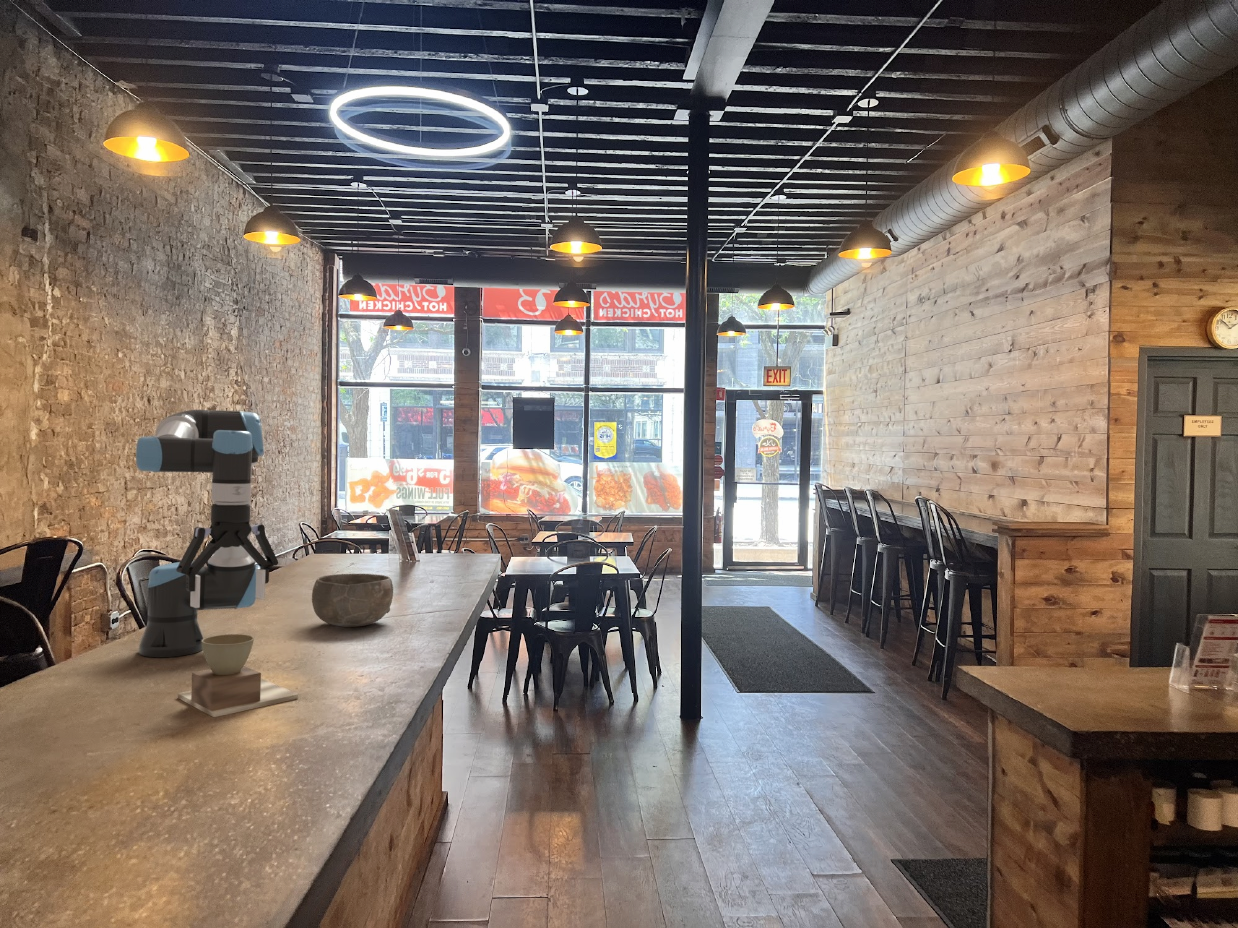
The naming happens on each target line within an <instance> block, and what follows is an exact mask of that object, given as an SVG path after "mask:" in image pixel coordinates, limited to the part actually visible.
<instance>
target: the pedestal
mask: <svg viewBox="0 0 1238 928" xmlns="http://www.w3.org/2000/svg"><path fill="white" fill-rule="evenodd" d="M261 678H262V672H259V671H258V670H255V669H252V668H250V667H248V666H247V665H246V666H245V665H244V666H243V668H242V669H241V671H240V672H239V673H236V674H232V675H216V674H214V673H213V672H212V670H211V669H210V668H208V669H203V670H197V671H193V672H191V691H192V692H191V701H193V702H195V703H197V704H199V705H201V706H203V707H205V708H206V709H208V710H210V711H216V710H220V709H225V708H230V707H234V706H239V705H244V704H248V703H253V702H257V701H260V690H261Z"/></svg>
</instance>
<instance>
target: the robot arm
mask: <svg viewBox="0 0 1238 928" xmlns="http://www.w3.org/2000/svg"><path fill="white" fill-rule="evenodd" d="M262 430H263V429H262V422H261V418H260V416H259V414H258V413H256V412H252V411H251V412H250V411H243V410H220V409H219V410H215V409H213V410H211V409H199V408H198V409H189V410H182V411H179V412H176V413H173V414H170V415H168V416H167V417H165V418H163V419H162V420H161V421H159V423H158V424H157V426H156V429H155V433H154V435H151V436H141V437H139V438H138V439H137V443H136V448H135V449H136V450H135V451H136V452H135V458H136V459H135V463H136V468H137V469H138V470H139V471H141V472H152V473H206V474H207V473H208V474H211V473H212V479H211V496H210V498H211V499H210V500H211V502H214V503H213V504H212V505H210V526H209V528H208V527H200V526H195V528H194V530H193V537H192V539H191V541H190V542H189V545H188V546H187V548H186V550H185V552H184V554H183V556H182V558H181V560H180V561H177V562H173V563H172V562H171V563H167V564H162V565H159V566H156V567H154V568H151V570H150V572H149V575H148V584H147V588H148V597H147V598H148V600H147V601H148V602H147V603H148V604H147V624H146V626H145V629H144V631H143V634H142V637H141V639H140V642H139V646H138V654H139V655H141V656H144V657H148V658H172V657H180V656H181V657H182V656H187V655H192V654H195V653H198V652H202V651H203V648H202V640H203V639H204V638H205V637H204V635H203V632H202V630H201V627H200V623H199V621H198V611H209V610H211V611H212V610H231V609H234V610H237V609H243V608H250V607H252V606H253V605H254V604H255V603H256V599H257V600H261V601H265V598H266V584H269V582H270V570H272V567H275V566H277V565H279V560H278V558H277V556H276V554H275V552H274V550H273V548H272V546H271V544H270V541H269V539H268V537H267V536H266V527H265V525H264V524H261V523H255V524H254V525H251V508H252V506H251V504H252V503H251V501H252V500H251V499H252V477H253V476H252V474H253V473H252V472H253V471H252V469H253V467H254V466H256V465H257V464H258V463H259V457H261V456H264V454H265V451H264V442H263V441H264V439H263V431H262ZM251 533H252V535H254V536H255V539H256V540H257V543H258V545H259V547H260V549H261V552H262V553H263V555H264V556H263V555H262V554H261V553H260V552H259V550H258V549H257V548H256V547H255V546H254V545H253V542H252V541H251V540H250V539H251V537H250V536H251ZM208 535H209V536H210V537H211V539H210V541H208V542H207V544H206V546H205V547H204V549H203V550H202V551H201V552H200V553H199V555H198V556H197V554H198V552H199V551H200V549H201V547H202V545H203V542H204V540H205V539H207V537H208ZM196 556H197V557H196ZM206 564H207V566H205V565H206Z"/></svg>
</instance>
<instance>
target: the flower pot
mask: <svg viewBox="0 0 1238 928" xmlns="http://www.w3.org/2000/svg"><path fill="white" fill-rule="evenodd" d="M203 638H204V639H203V640H202V648H203V650H202V652H203V655H204V659H205V661H206V663H207V665H208V667H209V669H211V670H212V672H213V673H214V674H216V675H232V674H236V673H239V672H240V671H241V669H242V668H243V666H245V664H246V662H247V661H248V659H249V657H250V654H251V652H252V649H253V646H254V639H255V637H254V636H252V635H250V634H244V633H243V634H242V633H241V634H239V633H231V634H230V633H229V634H227V633H226V634H218V635H217V634H216V635H212V636H207V637H203Z"/></svg>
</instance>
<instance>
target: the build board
mask: <svg viewBox="0 0 1238 928" xmlns="http://www.w3.org/2000/svg"><path fill="white" fill-rule="evenodd" d="M191 692H192V690H189V691H188V690H187V691H183V692H178V693H177V699H179V700H181V701H183V702H184V703H186V704H188V705H190V706H192V707H194V708H196V709H197V710H199V711H201V712H202V713H205V714H206V715H209V716H211V717H212V718H217V717H221V716H222V717H223V716H226V715H231V714H235V713H240V712H243V711H244V712H245V711H249V710H252V709H253V710H254V709H258V708H262V707H267V706H271V705H275V704H280V703H286V702H289V701H294V700H298V699H299V693H297V692H294V691H292V690H289V689H288V688H285V687H283V686H280V685H279V684H275V683H273V682H271V681H268V680H266V679H264V678H262V677H261V690H260V701H257V702H253V703H248V704H244V705H239V706H234V707H230V708H225V709H220V710H216V711H210V710H208V709H206V708H205V707H203V706H201V705H199V704H197V703H195V702H193V701H191Z"/></svg>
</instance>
